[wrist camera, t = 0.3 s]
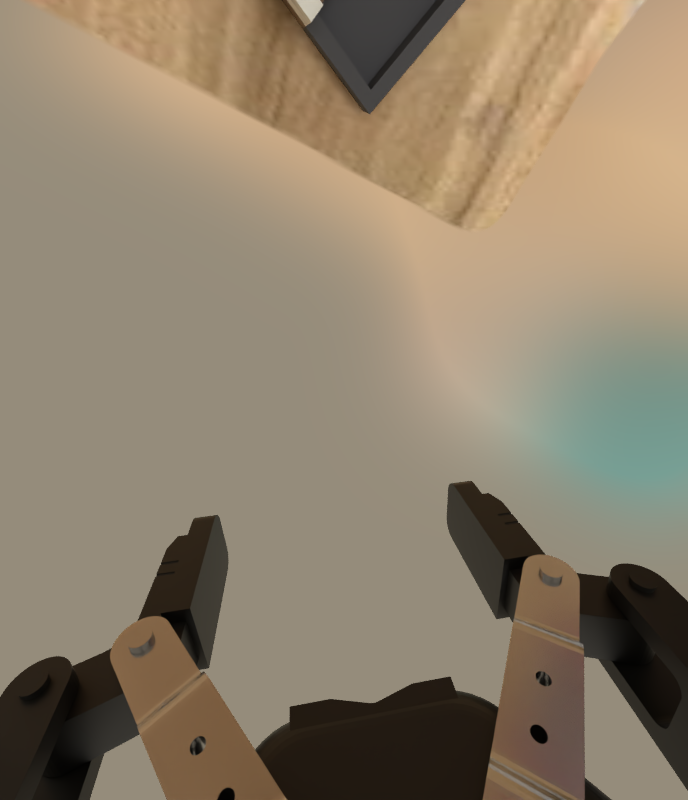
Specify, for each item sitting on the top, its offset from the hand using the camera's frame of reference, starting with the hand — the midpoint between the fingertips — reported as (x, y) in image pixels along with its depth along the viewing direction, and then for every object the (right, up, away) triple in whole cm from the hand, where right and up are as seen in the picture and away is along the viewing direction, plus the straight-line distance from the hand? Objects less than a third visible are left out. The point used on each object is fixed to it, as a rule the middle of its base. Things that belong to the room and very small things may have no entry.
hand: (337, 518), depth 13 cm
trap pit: (+3, +32, +13) cm, 35 cm away
